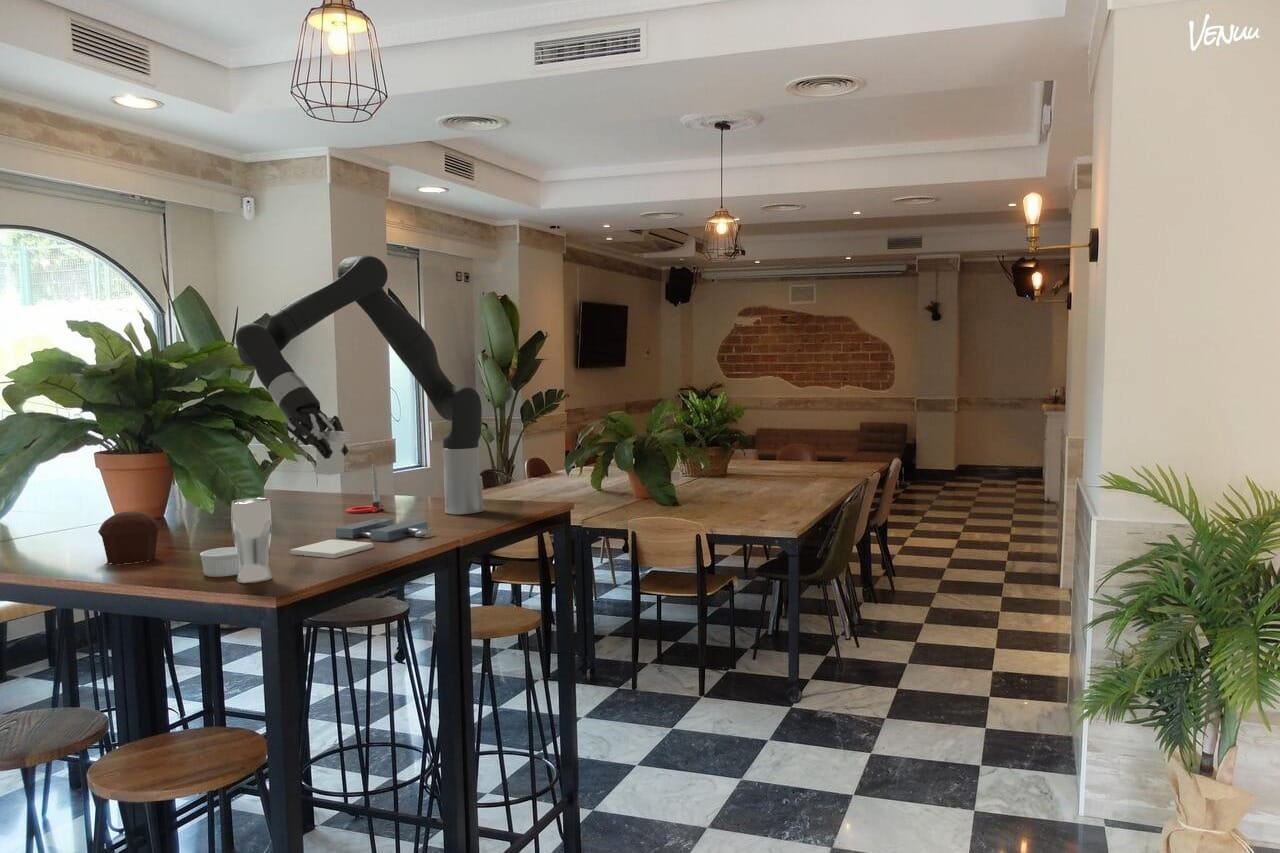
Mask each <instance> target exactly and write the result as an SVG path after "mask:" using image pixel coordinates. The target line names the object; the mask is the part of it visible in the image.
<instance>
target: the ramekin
mask: <svg viewBox="0 0 1280 853" xmlns="http://www.w3.org/2000/svg"><path fill="white" fill-rule="evenodd" d="M199 557H200V559H201V564H202V571H203V575H204V576H206V577H211V578H221V577H223V578H224V577H232V576H237V574H238V556H237V551H236V547H235V546H230V547H226V546H225V547H217V548H212V549H207V550H204V551H202V552H200V553H199Z"/></svg>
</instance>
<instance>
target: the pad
mask: <svg viewBox="0 0 1280 853" xmlns="http://www.w3.org/2000/svg"><path fill="white" fill-rule="evenodd" d="M373 548H374V543H373V542H364V541H355V540H354V541H353V540H345V539H344V540H343V539H327V540H323V541H319V542H316V543H310V544H306V545H303V546H299V547H296V548H291V549H290V555H292V556H293V555H294V556H295V555H296V556H303V555H304V556H306V557H315V558H326V559H327V558H328V559H337V558H341V557H345V556H348V555H351V554H356V553H358V552H363V551H366V550H369V549H373Z"/></svg>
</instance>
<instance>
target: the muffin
mask: <svg viewBox="0 0 1280 853" xmlns="http://www.w3.org/2000/svg"><path fill="white" fill-rule="evenodd" d="M161 528H162V526H161V525H160V524H159V522H158V521H157V520H156V519H155V518H154V517H153V516H151V515H149V514H147V513H145V512H142V511H122V512H119V513H115V514H113V515H111V516H110V517H108V518H107V519H105V521H103V523H102V524H101V525H100V527H99V529H98V530H97V533H98V534H99V535H100V536H101V540H102V543H103V544H102V545H103V547H104V551H105V556H106V561H107V563H108V564H109V563H114V564H113V565H115V564H124V563H135V562H141V561H147V560H150V559H152V560H154V559H153V558H156V551H157V550H156V549H157V543H158V535H159V534H158V533H159V531H160V529H161ZM150 561H151V560H150ZM147 562H148V561H147ZM141 563H142V562H141ZM124 565H125V564H124Z"/></svg>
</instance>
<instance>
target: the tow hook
mask: <svg viewBox="0 0 1280 853" xmlns="http://www.w3.org/2000/svg"><path fill="white" fill-rule="evenodd" d="M371 480H372V489H373V492H372V500H373V501H372V505H361V506H354V507H348V508H346V509H345V513H346V514H360V513H361V514H362V513H364V514H365V513H370V512H371V513H372V514H373V513H376V512H380V511H381V510H383V509H384V505H383V504H382V503H381V501H380V499H381V498H380V492H379V489H378V488H379V487H378V478H377V471H376V463H371Z"/></svg>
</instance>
